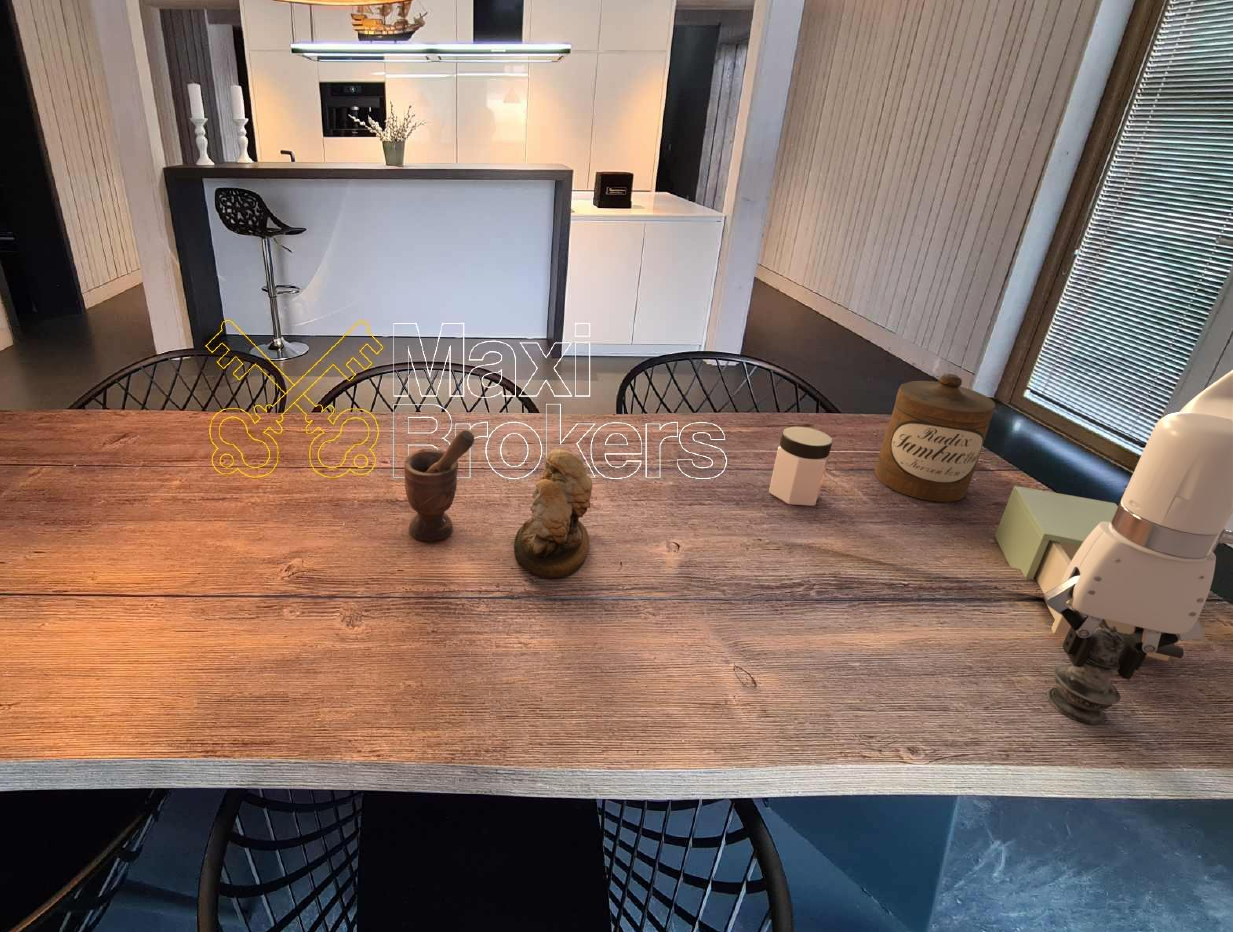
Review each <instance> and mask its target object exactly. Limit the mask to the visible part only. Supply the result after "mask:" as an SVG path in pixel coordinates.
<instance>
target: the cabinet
mask: <svg viewBox="0 0 1233 932" xmlns="http://www.w3.org/2000/svg"><path fill="white" fill-rule="evenodd" d="M1117 508H1118V505H1117V504H1116V503H1115V502H1109V501H1104V500H1100V499H1093V498H1087V497H1081V496H1076V495H1069V494H1064V493H1059V492H1052V491H1048V490H1041V489H1036V488H1030V487H1025V486H1019V485H1013V488H1012V491H1011V493H1010V495H1009V498H1008V501H1007V503H1006V506H1005V509H1004V511H1003V513H1002V517H1001V518H1000V522H999V524H998V527H997V530H996V532H995V535H994V538H995V540H996V541H997V543H998V546H999V547H1000V550H1001V552H1002V553H1003V556H1004V557H1005V559H1006V562H1007V564H1008V565H1009V567H1010V568H1013V569H1017V570H1020V571H1021V573H1022V574H1023V577H1024V579H1026V580H1031V581H1034V578H1035V573H1036V571H1037V569H1038V566H1039V564H1040V562H1041V559H1042V557H1043V554H1044V552H1045V550H1046V547H1047V545H1048V543H1049V540H1052V541H1057V542H1062V543H1067V544H1072V545H1077V546H1081V545H1082V543H1083V542H1084V541H1085V539H1086V538H1087V537H1088V536H1089V534H1090V533H1091V532H1092V531H1093V530H1094V529H1095V527H1096V526H1097V525H1098V524H1099V523H1101V522H1110V523H1111V521H1112V519H1113V516H1114V514H1115V512H1116V510H1117Z"/></svg>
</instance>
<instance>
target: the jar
mask: <svg viewBox="0 0 1233 932" xmlns="http://www.w3.org/2000/svg"><path fill="white" fill-rule="evenodd" d="M832 447H833V439H832V438H831V436H829V435H828V434H827V433H825V432H823V431H821V430H818V429H815V428H811V427H807V426H805V427H804V426H789V427H786V428H784V429H783V430H782V432H781V435H780V441H779V446H778V448H777V451H776V455H775V456H776V457H775V461H774V465H773V470H772V475H771V479H770V485H769V489H768V493H769V494H770V495H772V496H774V497H775V498H777V499H779V500H780V501H782V502H784V503H785V504H787V505H791V506H792V505H793V506H811V507H814V506H816V503H817V501H818V499H819V497H820V494H821V489H822V486H823V482H824V478H825V474H826V470H827V465H828V462H829V457H830V455H831V449H832Z"/></svg>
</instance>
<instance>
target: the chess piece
mask: <svg viewBox="0 0 1233 932" xmlns="http://www.w3.org/2000/svg"><path fill="white" fill-rule="evenodd" d="M1109 629H1110V630H1109ZM1109 629H1103V628H1100V629H1096V630H1095V631H1094V632H1093V633H1092V635H1091V637H1092V639H1093V641H1094V645H1093V647H1092V649H1091V651H1090V653H1089V655H1088V657H1087V659H1086V661H1085V663H1084V665H1083V667H1076V666H1073V664H1059V665H1056V666H1055V668H1054V669H1053V676H1054V684H1055V687H1052V688H1050V689H1048V691H1047V692H1046V698H1047V700H1048V702H1049V704H1051V706H1052V707H1053V708H1054V709H1055V710H1057V712H1059V713H1062V715H1064V716H1066V717H1068V718H1070V719H1072V720H1073V721H1076V722H1079V723H1082V724H1086V725H1092V726H1097V725H1098V726H1099V725H1101V724H1103V723H1104V722H1105V720H1106V715H1105V712H1104V710H1107V709H1108V708H1111V707H1112V706H1113V705H1116V704H1117V703H1119V702H1120V700H1121V693H1120V692H1119V691H1118V689H1117V687H1116V686H1115V685H1114V684H1113V683H1111V682H1110V679H1111V677H1112V675H1113V673H1114V672H1115V671H1116V672H1117V670H1118V669H1119V668H1120V665H1119V663H1118V659H1119V657H1120V655H1121V653H1122V651H1123V649H1124V647H1125V641H1124V639H1123V638H1122V637H1121V636H1120V635H1119V634H1117V633H1116V632H1117V629H1116V628H1115V626H1113V627H1109Z"/></svg>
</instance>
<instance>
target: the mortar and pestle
mask: <svg viewBox="0 0 1233 932" xmlns="http://www.w3.org/2000/svg"><path fill="white" fill-rule="evenodd" d="M474 443H475V436H474V434H473V432H472V431H470V430H468V429H467V430H466V429H465V430H461V431H459V432H458V433H457V434H456V435H455V436H454V438H453V439H452V441H451V443H450V444H449V446H448V448H447V449H446V450H443V449H437V448H436V449H435V448H434V449H431V448H426V449H425V448H423V449H419V450H416V451H414V452H411V453H410V454H408V455H407V456H406V457H405V460H404V463H403V465H404V466H403V470H404V472H403V473H404V489H405V495H406V498H407V500H408V501H407V502H408V504H409V506H410V507H411V509H412V510H413V511H415V512H416V514H414V515H413V517H411V520H410V522H409V525H408V532H409V535H410V536H411V537H412V538H414V539H416V540H419V541H423V542H436V541H437V542H438V541H441V540H444V539H446V538H448V537H450V536H451V535H452V533H453V532H454V528H453V523H452V522H453V521H452V519H451V518H450V516H449V515H448V514H447V513H446V512H447V511H448V510H449V509H451V506H452V505H453V502H454V499H455V495H456V492H457V487H458V486H457V485H458V469H459V461H458V460H459V459H460V458H461V457H462V456H463V455H465V453H467V452H468V451H469V450H470V449H471V448H472V446H474Z"/></svg>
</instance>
